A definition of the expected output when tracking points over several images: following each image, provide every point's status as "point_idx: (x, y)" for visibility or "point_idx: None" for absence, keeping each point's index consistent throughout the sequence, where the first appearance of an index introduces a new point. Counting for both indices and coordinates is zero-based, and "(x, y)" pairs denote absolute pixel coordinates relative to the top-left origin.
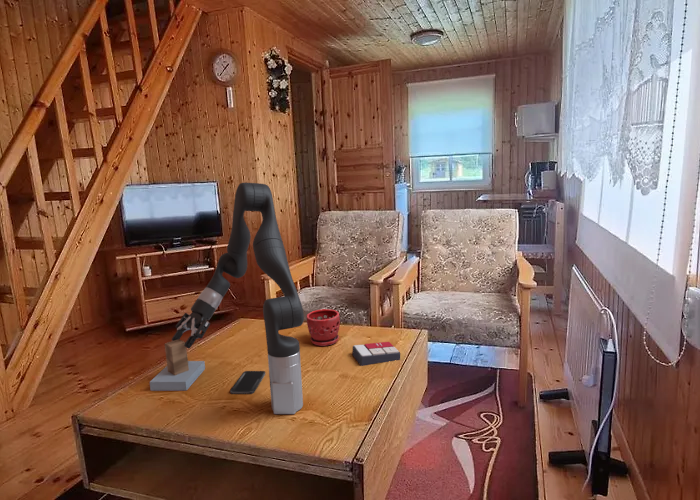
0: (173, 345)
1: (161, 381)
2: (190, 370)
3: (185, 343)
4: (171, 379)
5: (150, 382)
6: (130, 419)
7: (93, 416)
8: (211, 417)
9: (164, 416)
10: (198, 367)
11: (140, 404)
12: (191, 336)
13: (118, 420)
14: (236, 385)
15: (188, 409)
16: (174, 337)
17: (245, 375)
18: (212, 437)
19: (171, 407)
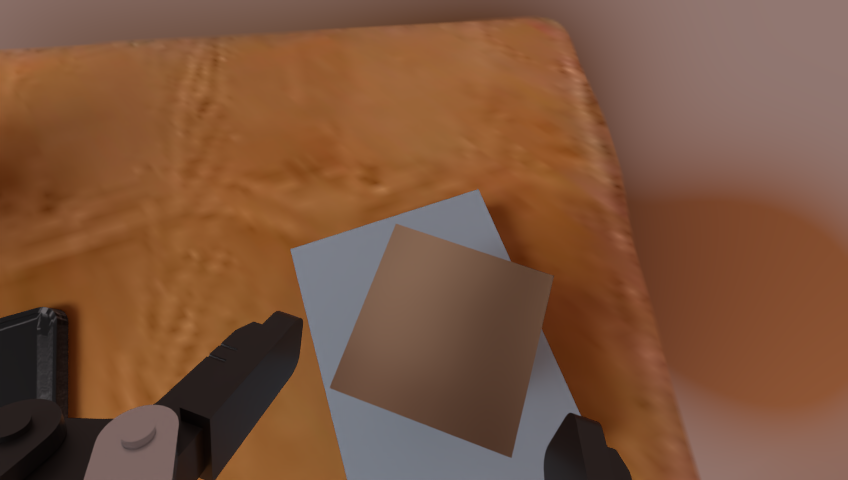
0: (408, 262)
1: (422, 212)
2: None
3: (280, 325)
4: (386, 245)
5: (473, 191)
6: (365, 45)
7: (504, 24)
8: (71, 131)
9: (259, 88)
10: (337, 439)
11: (414, 118)
12: (183, 412)
13: (400, 31)
14: (42, 380)
15: (195, 146)
16: (577, 448)
17: None
18: (17, 50)
19: (275, 137)
